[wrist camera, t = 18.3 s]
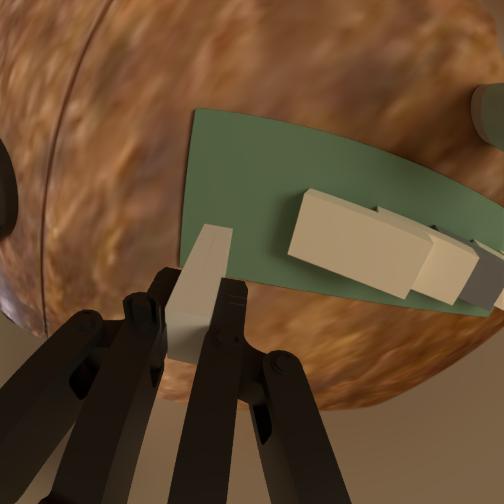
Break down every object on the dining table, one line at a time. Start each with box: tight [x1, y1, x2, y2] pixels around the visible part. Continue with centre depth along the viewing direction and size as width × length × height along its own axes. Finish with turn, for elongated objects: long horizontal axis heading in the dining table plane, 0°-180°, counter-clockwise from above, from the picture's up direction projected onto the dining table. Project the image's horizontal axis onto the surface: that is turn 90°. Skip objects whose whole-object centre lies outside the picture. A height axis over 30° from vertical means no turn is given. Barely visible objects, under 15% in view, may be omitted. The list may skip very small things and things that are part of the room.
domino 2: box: [375, 206, 479, 305], centre depth 20 cm, size 2×5×10 cm
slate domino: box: [433, 225, 504, 311], centre depth 20 cm, size 2×5×10 cm
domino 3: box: [472, 239, 504, 310], centre depth 20 cm, size 2×5×10 cm
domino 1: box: [288, 188, 433, 300], centre depth 20 cm, size 2×5×10 cm
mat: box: [179, 108, 504, 317], centre depth 22 cm, size 40×14×1 cm, turn 80°
